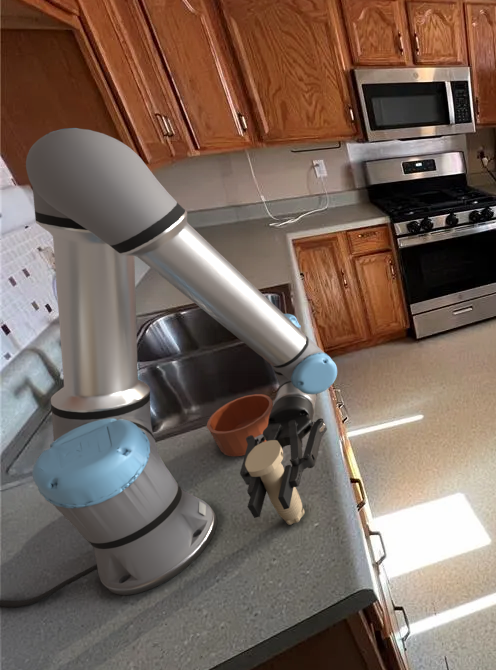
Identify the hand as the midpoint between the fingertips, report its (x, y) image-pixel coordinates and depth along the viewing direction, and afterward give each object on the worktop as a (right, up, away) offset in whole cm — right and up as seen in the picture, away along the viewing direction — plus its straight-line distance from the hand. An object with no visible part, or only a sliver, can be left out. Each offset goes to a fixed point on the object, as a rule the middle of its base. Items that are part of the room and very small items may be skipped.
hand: (268, 507), depth 62 cm
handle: (-1, -6, +9) cm, 11 cm away
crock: (-21, +3, +29) cm, 35 cm away
